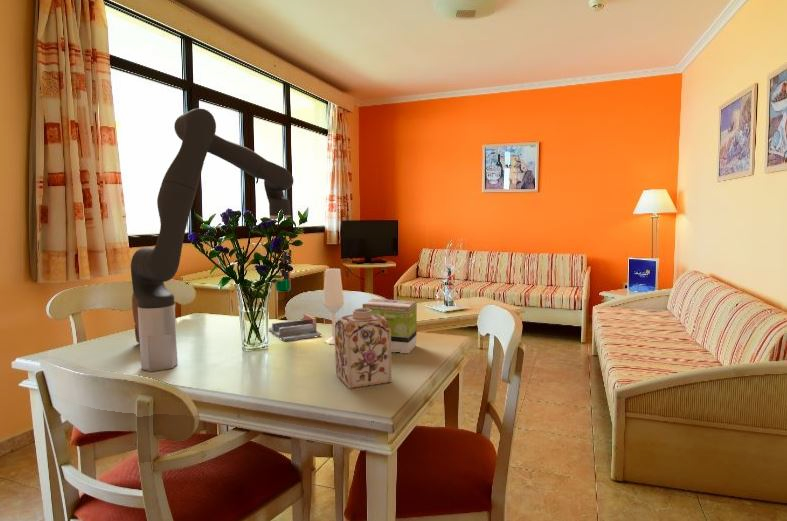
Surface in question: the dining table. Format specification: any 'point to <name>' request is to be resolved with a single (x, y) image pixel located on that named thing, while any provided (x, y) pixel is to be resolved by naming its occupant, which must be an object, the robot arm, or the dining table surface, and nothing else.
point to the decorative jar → (363, 349)
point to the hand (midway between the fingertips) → (282, 278)
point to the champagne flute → (333, 296)
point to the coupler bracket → (295, 329)
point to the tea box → (398, 321)
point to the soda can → (283, 283)
